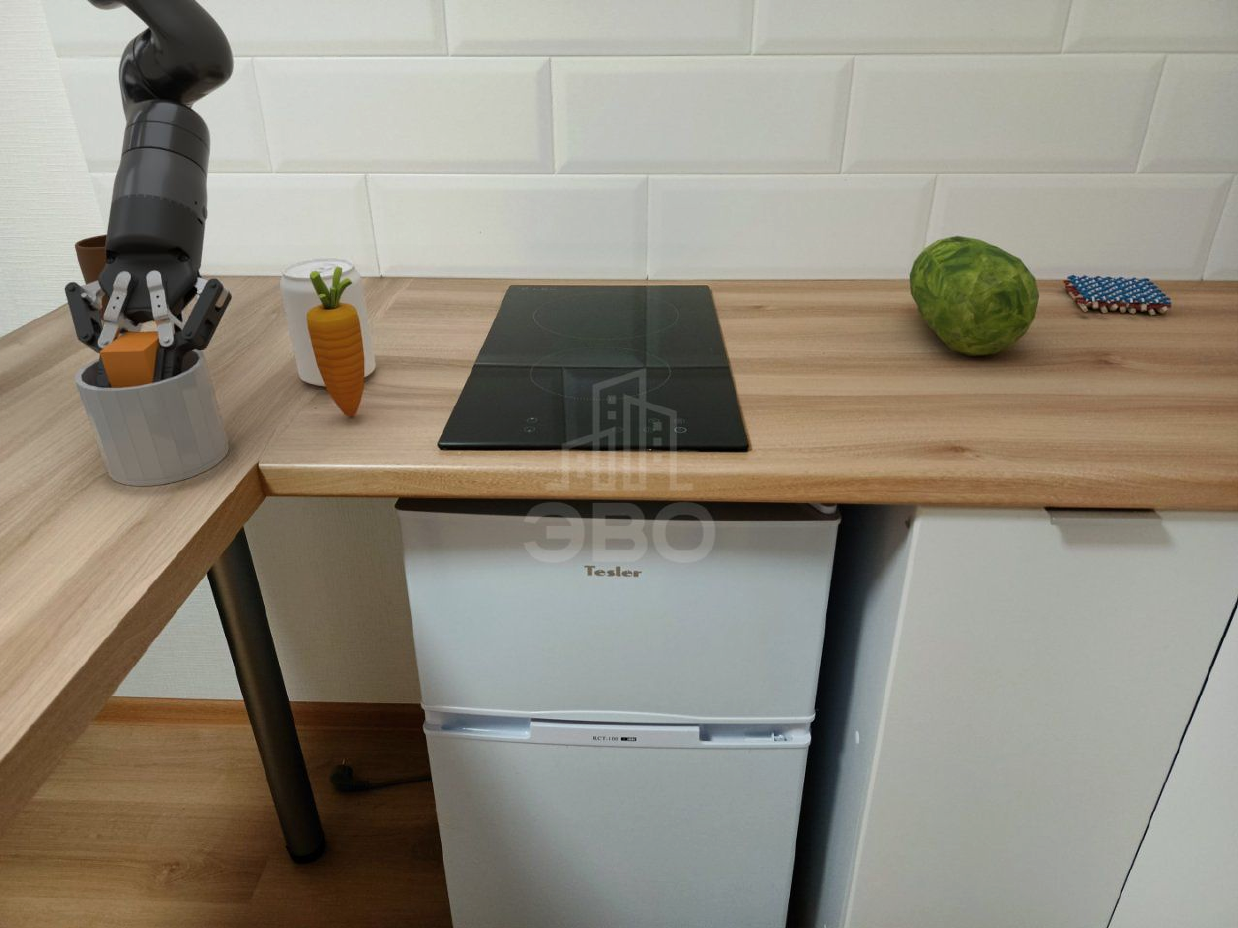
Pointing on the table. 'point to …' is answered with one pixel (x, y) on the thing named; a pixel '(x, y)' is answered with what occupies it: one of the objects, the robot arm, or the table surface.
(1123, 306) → the woven mat
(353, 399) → the carrot
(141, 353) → the orange rectangular prism
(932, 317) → the lettuce
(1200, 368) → the table surface
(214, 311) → the robot arm
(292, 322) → the beverage can
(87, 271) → the mug
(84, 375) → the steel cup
